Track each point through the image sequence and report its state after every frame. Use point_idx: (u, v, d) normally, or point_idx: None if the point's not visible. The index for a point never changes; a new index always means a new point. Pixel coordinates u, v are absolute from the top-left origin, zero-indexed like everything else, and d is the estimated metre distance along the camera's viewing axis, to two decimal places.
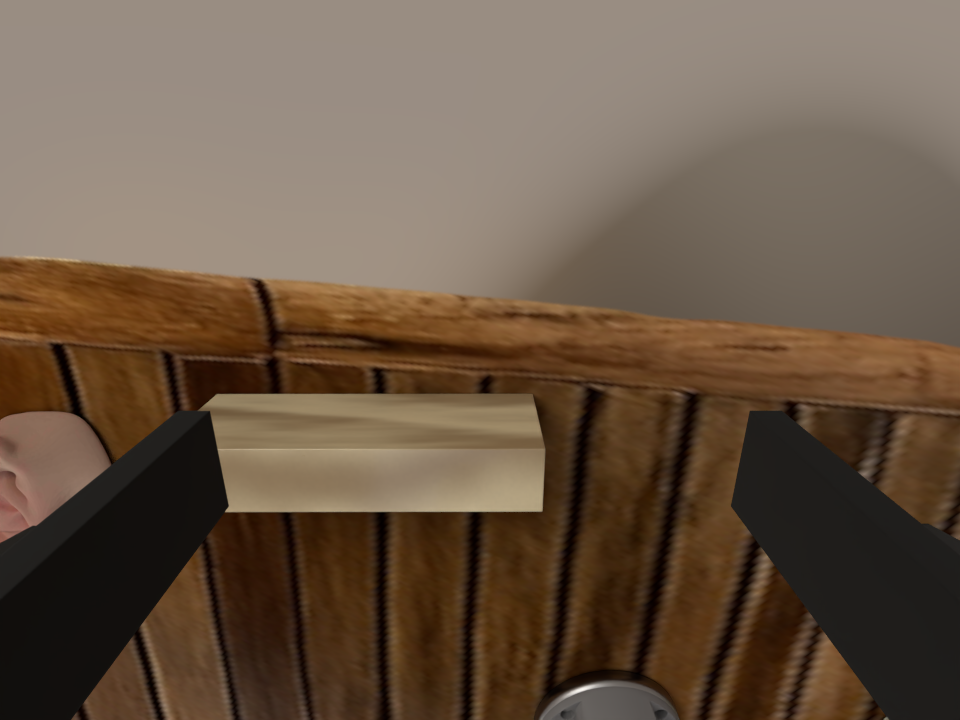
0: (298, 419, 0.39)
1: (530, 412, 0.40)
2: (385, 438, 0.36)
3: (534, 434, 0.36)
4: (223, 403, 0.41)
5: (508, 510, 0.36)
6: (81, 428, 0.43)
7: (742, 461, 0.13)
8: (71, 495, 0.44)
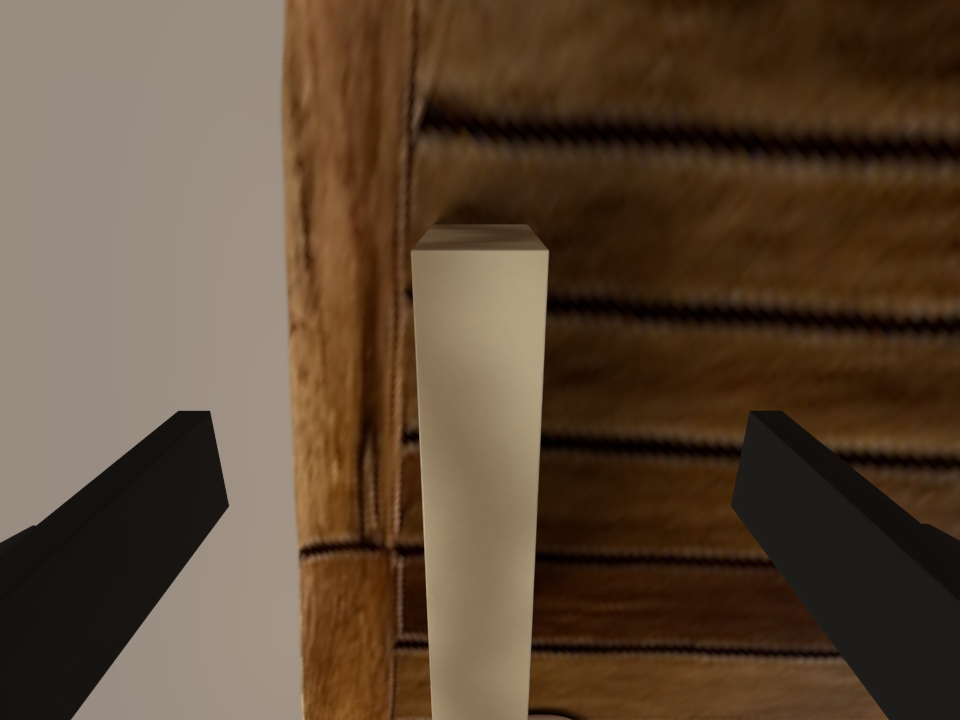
0: None
1: None
2: None
3: None
4: None
5: (542, 313, 0.20)
6: None
7: (741, 461, 0.13)
8: None
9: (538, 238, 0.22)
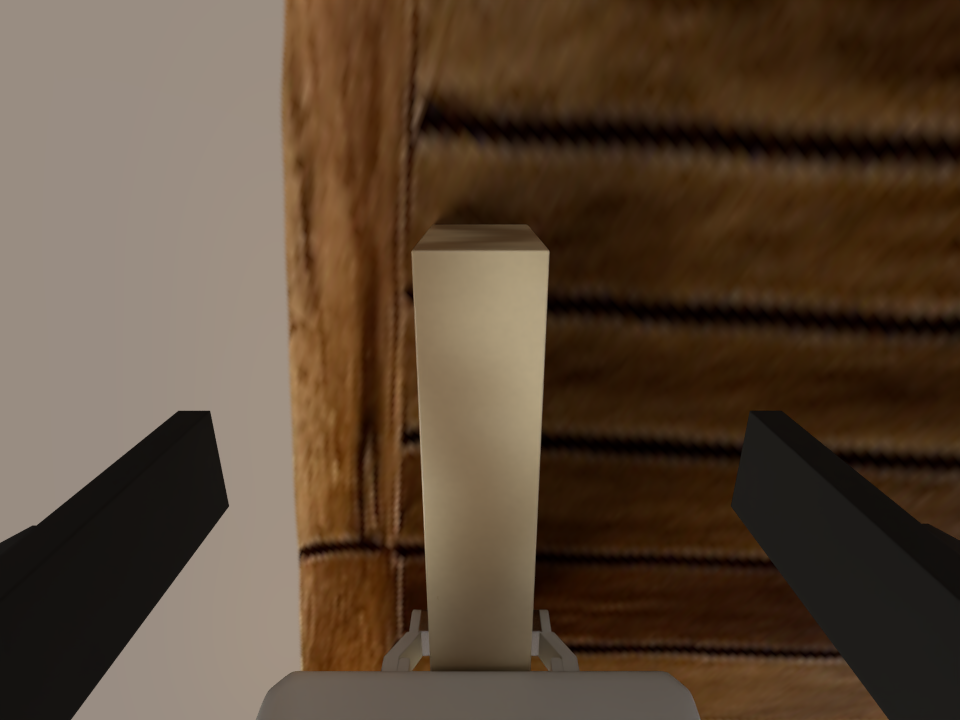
0: None
1: None
2: None
3: None
4: None
5: (543, 313, 0.20)
6: None
7: (741, 461, 0.13)
8: None
9: (538, 238, 0.22)
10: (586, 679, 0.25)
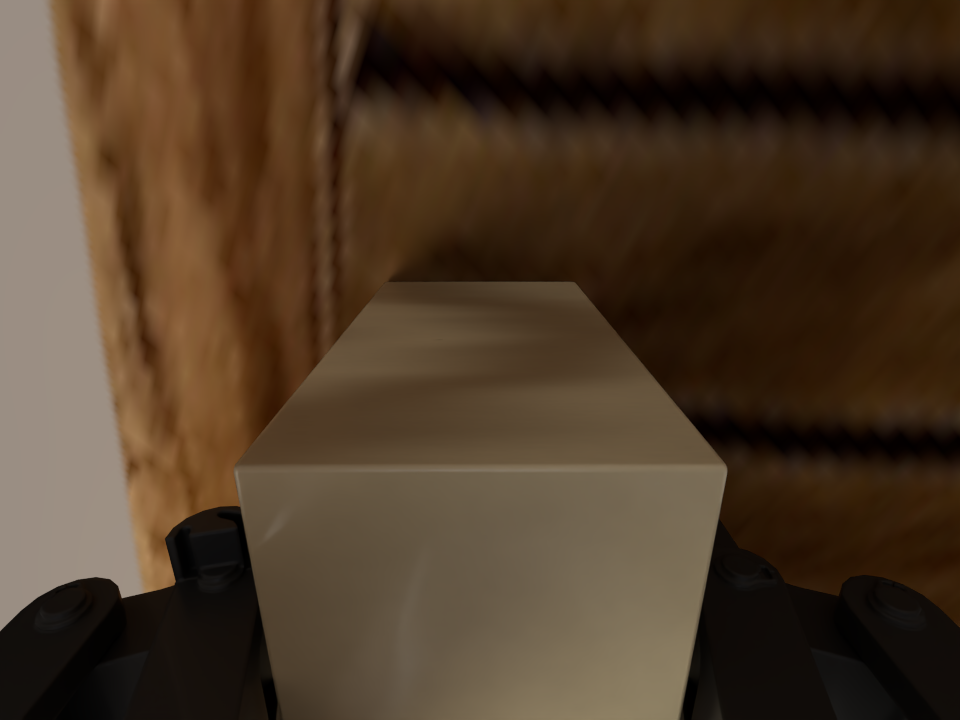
0: None
1: None
2: None
3: None
4: None
5: (684, 645, 0.06)
6: None
7: None
8: None
9: (635, 356, 0.08)
10: None
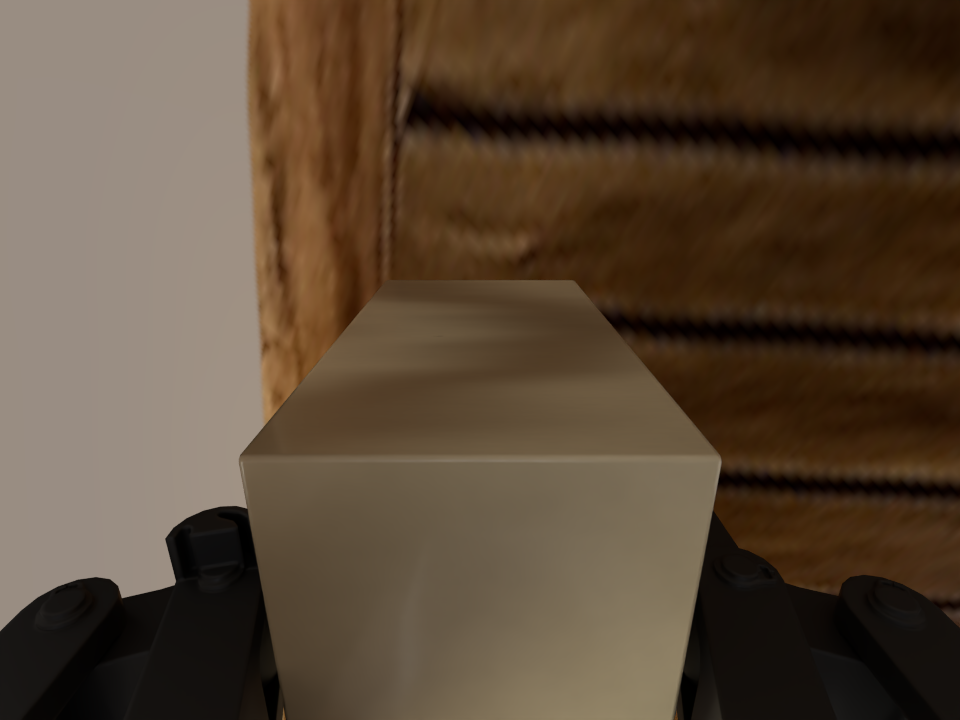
0: None
1: None
2: None
3: None
4: None
5: (680, 634, 0.06)
6: None
7: None
8: None
9: (632, 352, 0.08)
10: None
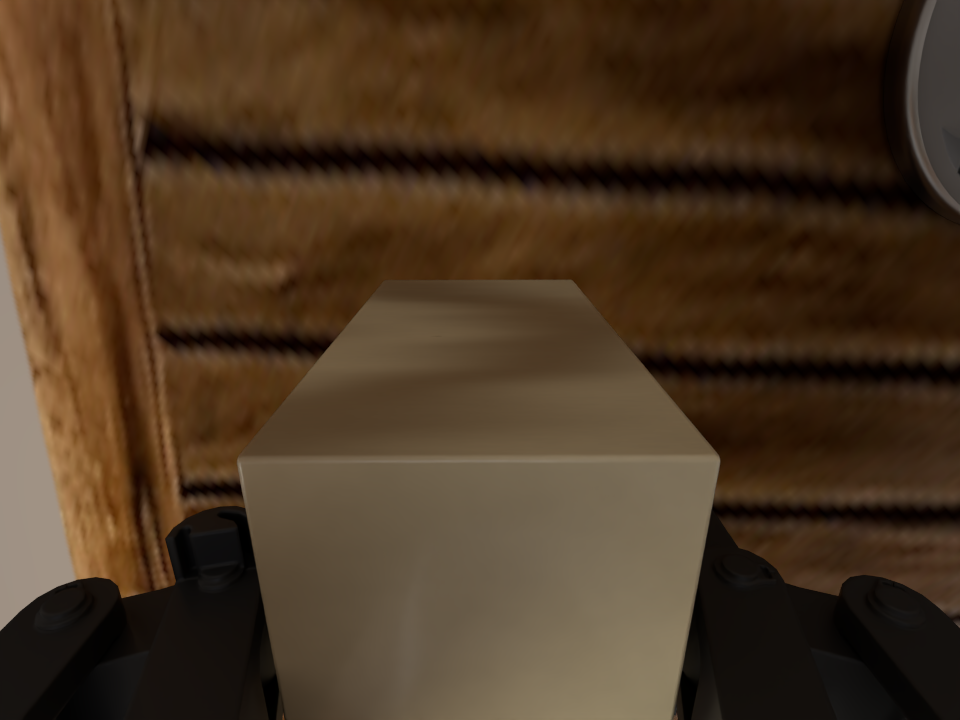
0: None
1: None
2: None
3: None
4: None
5: (679, 633, 0.06)
6: None
7: None
8: None
9: (631, 352, 0.08)
10: None
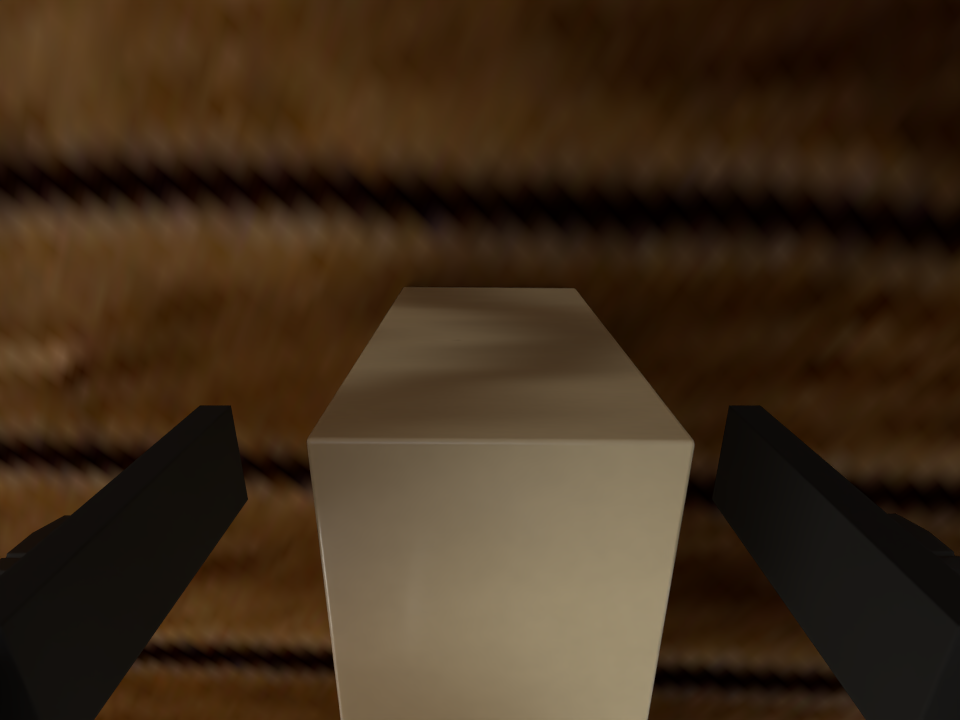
0: None
1: None
2: None
3: None
4: None
5: (662, 588, 0.07)
6: None
7: (722, 455, 0.13)
8: None
9: (626, 355, 0.10)
10: None
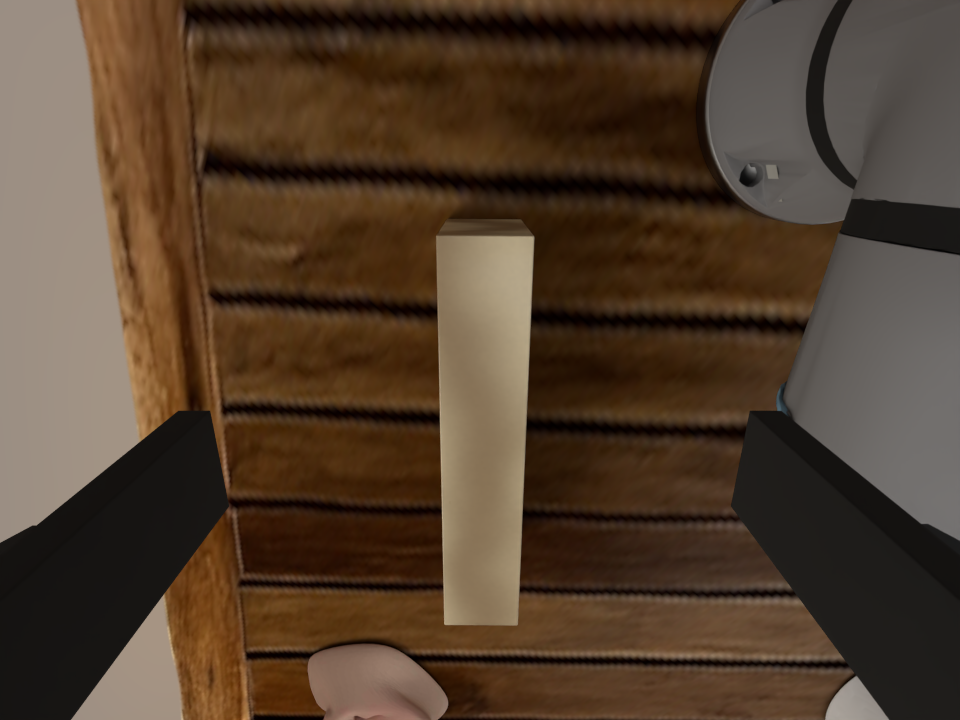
0: None
1: None
2: None
3: None
4: None
5: (529, 282, 0.27)
6: (319, 658, 0.48)
7: (742, 461, 0.13)
8: (382, 681, 0.47)
9: (528, 229, 0.29)
10: None
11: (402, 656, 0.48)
